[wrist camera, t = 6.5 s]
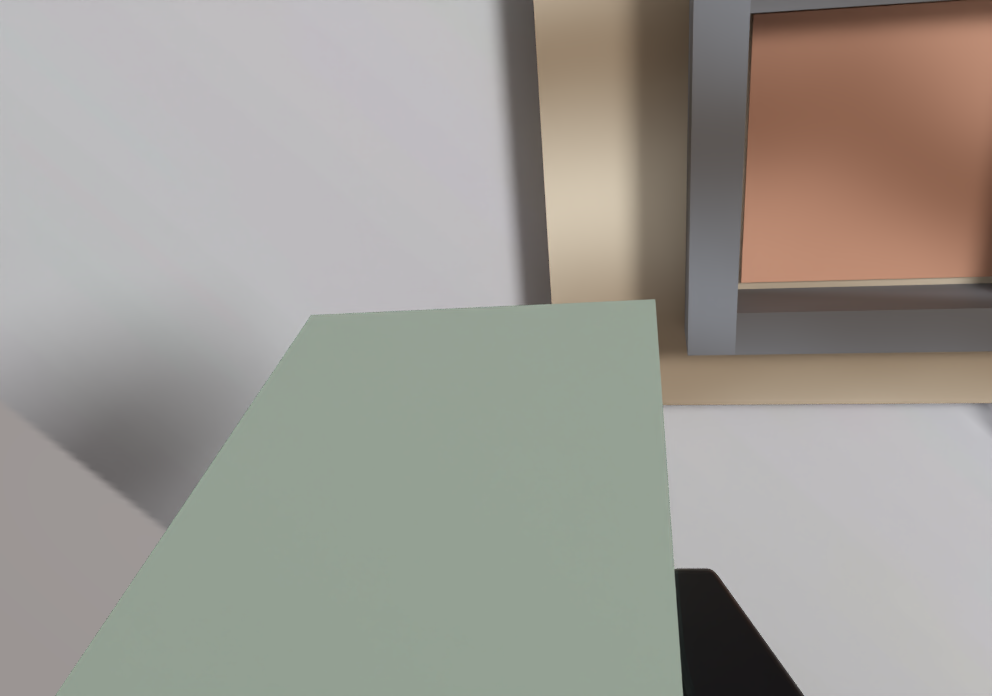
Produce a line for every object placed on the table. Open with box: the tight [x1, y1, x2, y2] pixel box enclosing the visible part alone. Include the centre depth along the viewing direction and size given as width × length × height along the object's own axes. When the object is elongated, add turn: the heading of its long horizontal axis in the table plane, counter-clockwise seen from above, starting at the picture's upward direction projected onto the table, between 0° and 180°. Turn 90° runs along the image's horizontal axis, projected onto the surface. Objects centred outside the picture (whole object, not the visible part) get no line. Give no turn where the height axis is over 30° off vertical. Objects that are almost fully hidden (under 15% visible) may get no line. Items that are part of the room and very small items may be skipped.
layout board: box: [533, 0, 992, 405], centre depth 18 cm, size 15×13×2 cm
